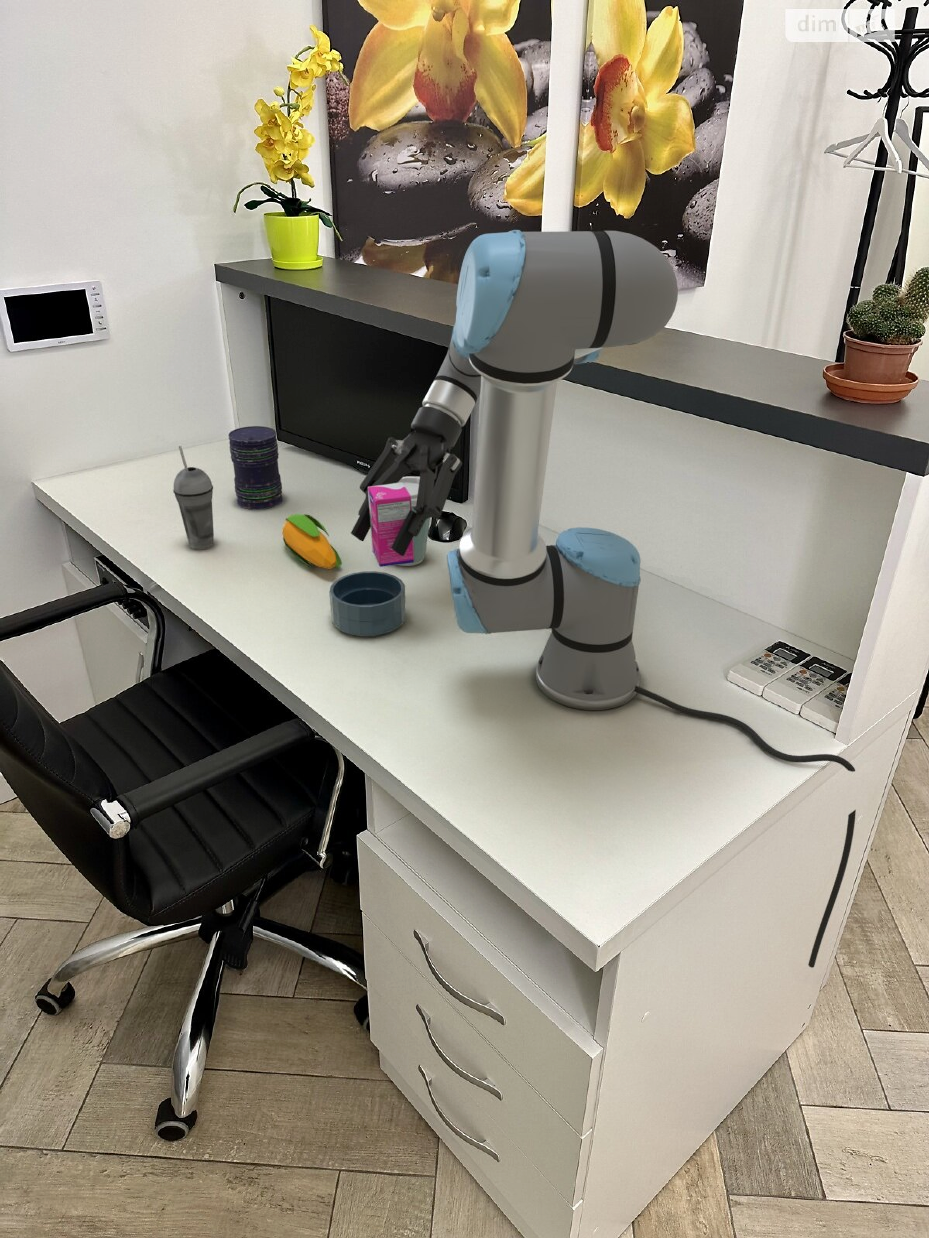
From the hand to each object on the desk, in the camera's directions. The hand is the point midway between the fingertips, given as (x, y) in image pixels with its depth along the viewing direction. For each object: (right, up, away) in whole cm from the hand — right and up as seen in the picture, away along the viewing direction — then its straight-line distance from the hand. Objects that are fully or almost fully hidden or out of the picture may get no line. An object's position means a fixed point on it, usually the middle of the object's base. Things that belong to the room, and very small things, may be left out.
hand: (376, 544), depth 137 cm
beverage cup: (-37, +3, +35) cm, 52 cm away
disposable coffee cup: (+3, 0, +31) cm, 31 cm away
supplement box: (+2, -2, +4) cm, 5 cm away
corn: (-15, -1, +30) cm, 33 cm away
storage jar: (-30, +14, +54) cm, 64 cm away
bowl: (-2, -12, +11) cm, 16 cm away
